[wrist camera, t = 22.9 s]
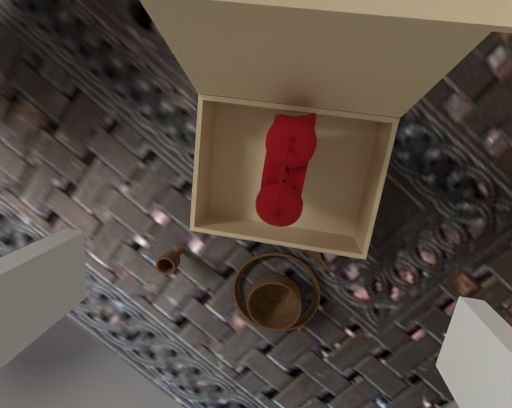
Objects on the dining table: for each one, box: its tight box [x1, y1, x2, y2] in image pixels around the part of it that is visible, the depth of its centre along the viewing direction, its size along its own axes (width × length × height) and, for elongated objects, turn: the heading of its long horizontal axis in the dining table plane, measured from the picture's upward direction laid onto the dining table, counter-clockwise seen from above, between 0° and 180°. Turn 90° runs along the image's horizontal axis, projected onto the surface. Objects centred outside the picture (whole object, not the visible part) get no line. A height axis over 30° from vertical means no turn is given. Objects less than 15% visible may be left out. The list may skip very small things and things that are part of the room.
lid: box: [140, 0, 512, 118], centre depth 23 cm, size 20×15×2 cm
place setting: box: [156, 246, 332, 332], centre depth 40 cm, size 18×20×6 cm
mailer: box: [190, 94, 400, 260], centre depth 35 cm, size 20×15×6 cm
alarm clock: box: [255, 113, 317, 227], centre depth 30 cm, size 10×6×15 cm, turn 171°
